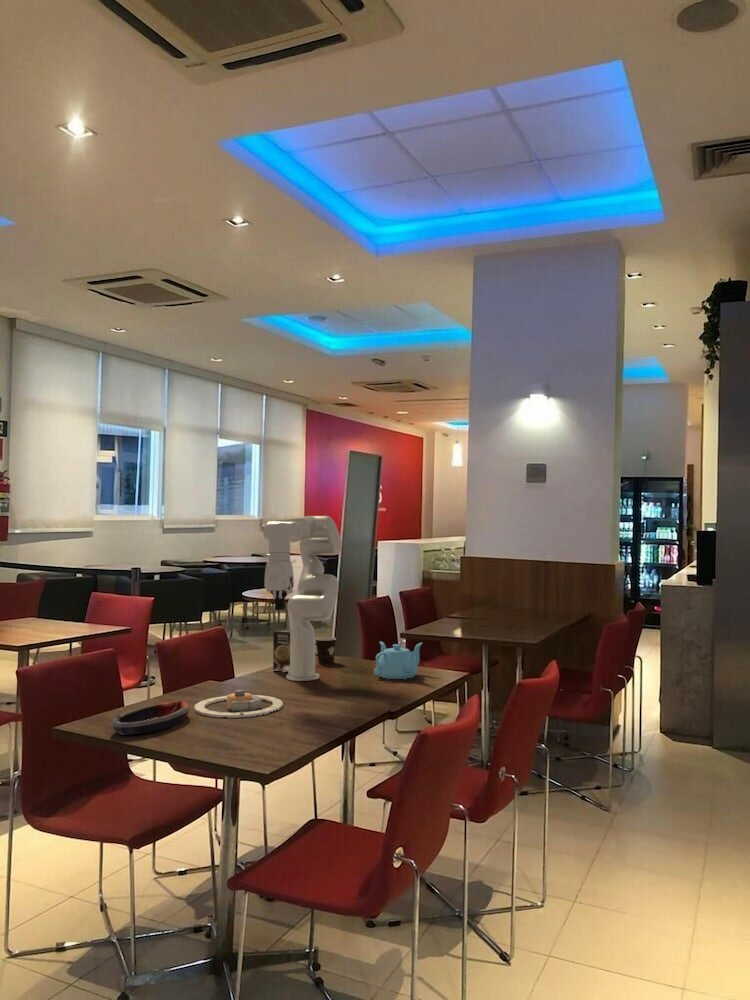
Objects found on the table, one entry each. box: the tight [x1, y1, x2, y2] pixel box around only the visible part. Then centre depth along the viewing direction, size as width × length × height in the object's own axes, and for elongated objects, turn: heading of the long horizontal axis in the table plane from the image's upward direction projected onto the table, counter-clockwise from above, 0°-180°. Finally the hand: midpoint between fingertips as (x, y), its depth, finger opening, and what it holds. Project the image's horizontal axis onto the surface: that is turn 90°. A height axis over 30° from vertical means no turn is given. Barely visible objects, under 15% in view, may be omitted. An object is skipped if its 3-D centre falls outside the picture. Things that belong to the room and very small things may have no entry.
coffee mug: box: [315, 636, 337, 665], centre depth 343 cm, size 12×9×10 cm
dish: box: [111, 699, 191, 736], centre depth 244 cm, size 16×31×5 cm, turn 153°
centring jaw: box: [231, 694, 262, 713], centre depth 263 cm, size 6×12×3 cm, turn 148°
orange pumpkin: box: [226, 689, 253, 711], centre depth 265 cm, size 8×8×6 cm
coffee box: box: [272, 629, 290, 672], centre depth 326 cm, size 9×6×16 cm
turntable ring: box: [194, 694, 284, 719], centre depth 265 cm, size 28×28×1 cm
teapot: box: [373, 641, 423, 680], centre depth 314 cm, size 17×19×12 cm
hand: (279, 609), depth 287 cm, fingers closed
